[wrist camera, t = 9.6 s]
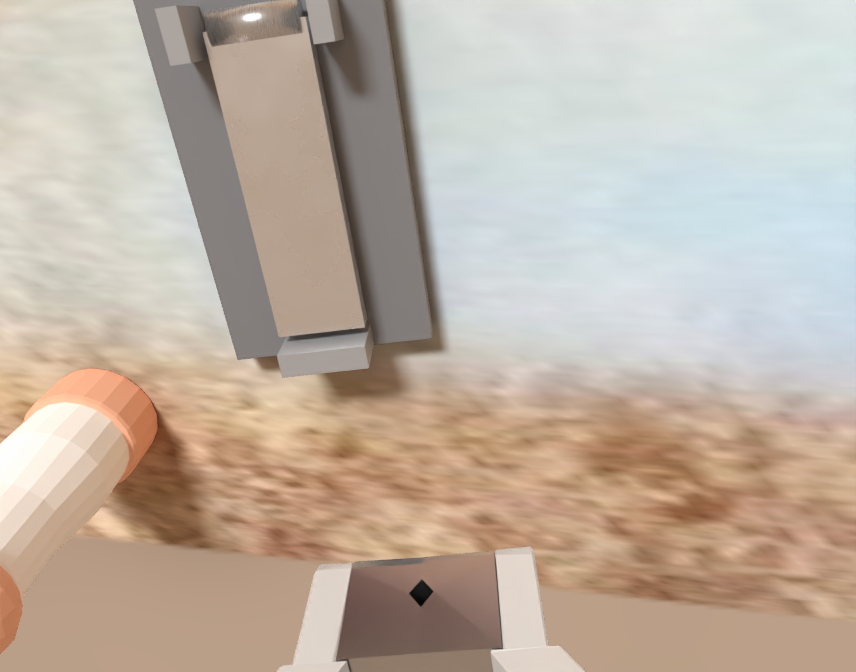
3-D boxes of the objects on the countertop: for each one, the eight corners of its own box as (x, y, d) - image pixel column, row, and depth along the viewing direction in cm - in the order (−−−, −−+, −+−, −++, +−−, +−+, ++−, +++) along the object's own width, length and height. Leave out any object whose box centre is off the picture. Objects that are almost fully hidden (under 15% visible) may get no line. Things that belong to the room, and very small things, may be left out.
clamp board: (379, -39, 33) (368, -47, 29) (432, 324, 42) (430, 361, 37) (148, -2, 34) (103, -4, 30) (246, 345, 43) (222, 384, 38)
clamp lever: (307, -4, 32) (300, -6, 31) (367, 317, 39) (364, 329, 38) (207, 11, 33) (194, 11, 31) (284, 326, 40) (277, 339, 38)
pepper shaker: (145, 367, 44) (-52, 596, 27) (167, 459, 47) (4, 717, 30) (36, 369, 44) (-229, 597, 27) (66, 460, 47) (-155, 717, 30)
